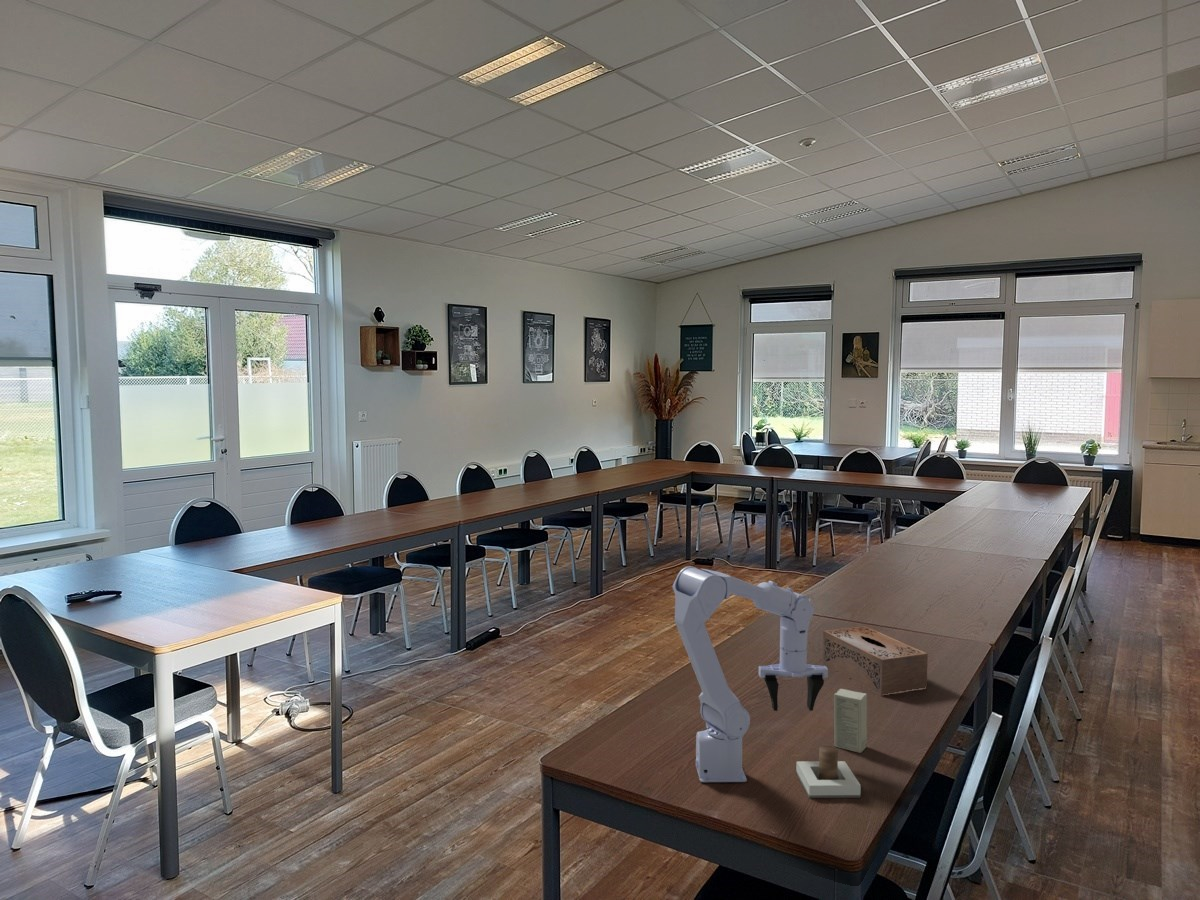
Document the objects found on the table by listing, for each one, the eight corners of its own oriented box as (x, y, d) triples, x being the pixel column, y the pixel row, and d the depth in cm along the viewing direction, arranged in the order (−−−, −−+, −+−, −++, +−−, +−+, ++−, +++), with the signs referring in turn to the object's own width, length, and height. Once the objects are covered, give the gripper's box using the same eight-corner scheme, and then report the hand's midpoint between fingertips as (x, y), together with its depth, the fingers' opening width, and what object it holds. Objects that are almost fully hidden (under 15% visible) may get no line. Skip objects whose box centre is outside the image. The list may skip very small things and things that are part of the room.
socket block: (809, 797, 156) (809, 785, 156) (796, 773, 166) (796, 761, 166) (860, 797, 156) (860, 785, 156) (844, 772, 166) (844, 761, 166)
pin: (820, 787, 159) (821, 753, 159) (817, 778, 163) (817, 745, 162) (838, 788, 159) (839, 754, 158) (835, 779, 162) (836, 746, 162)
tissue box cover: (822, 664, 231) (823, 630, 230) (864, 659, 236) (865, 625, 235) (881, 697, 207) (882, 659, 206) (926, 690, 211) (927, 653, 210)
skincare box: (867, 746, 178) (868, 693, 177) (860, 754, 174) (862, 700, 173) (839, 739, 182) (840, 687, 181) (832, 746, 178) (833, 693, 177)
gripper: (763, 654, 168) (762, 716, 169) (832, 653, 168) (831, 716, 169) (756, 643, 175) (756, 703, 176) (823, 642, 175) (821, 703, 176)
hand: (792, 708), depth 173 cm, fingers open, 7 cm apart
